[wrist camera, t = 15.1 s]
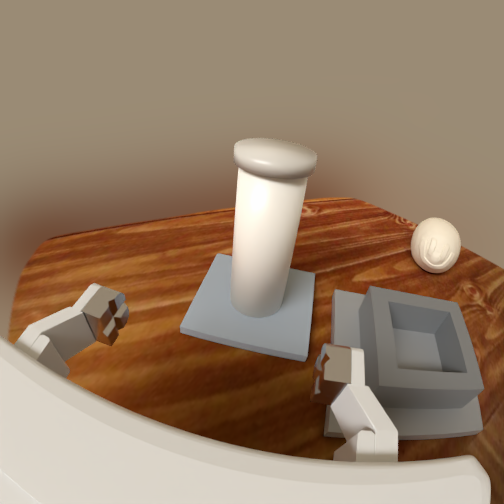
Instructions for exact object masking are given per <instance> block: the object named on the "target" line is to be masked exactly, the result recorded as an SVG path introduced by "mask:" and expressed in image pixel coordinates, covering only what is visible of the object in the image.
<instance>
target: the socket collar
mask: <svg viewBox="0 0 504 504" xmlns="http://www.w3.org/2000/svg"><path fill="white" fill-rule="evenodd" d="M331 344H334V345H341V346H347V347H352V348H358V349H363V351H364V364H365V386H369V388H370V389H371V391H372V392H373V394H374V395H375V397H376V398H377V400H378V401H379V403H380V404H381V406H382V408H383V409H384V411H385V412H386V414H387V415H388V417H389V418H390V420H391V421H392V423H393V424H394V426H395V428H396V429H397V431H398V440H422V439H439V438H451V437H460V436H469V435H476V434H477V433H479V432H480V431H482V430H483V425H482V419H481V413H480V407H479V402H478V397H477V395H478V394H479V393H480V392H482V391H483V390H484V386H483V382H482V378H481V374H480V370H479V366H478V363H477V359H476V356H475V352H474V349H473V346H472V343H471V339H470V336H469V333H468V330H467V327H466V325H465V322H464V319H463V316H462V313H461V311H460V308H459V305H458V303H457V302H451V301H446V300H441V299H435V298H430V297H425V296H420V295H415V294H409V293H404V292H399V291H394V290H389V289H384V288H379V287H373V286H370V287H369V289H368V291H367V293H366V295H362V294H357V293H352V292H347V291H342V290H336V289H335V291H334V293H333V296H332V327H331ZM324 436H328V437H338V438H345V437H344V434H343V432H342V430H341V428H340V426H339V424H338V422H337V419H336V417H335V415H334V413H333V411H332V409H331V405H327V408H326V418H325V427H324Z"/></svg>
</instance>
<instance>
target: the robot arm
mask: <svg viewBox="0 0 504 504" xmlns="http://www.w3.org/2000/svg"><path fill="white" fill-rule="evenodd" d="M125 300H126V299H125V296H124V294H123V293H120V292H117V291H115V290H112V289H109V288H106V287H104V286H101V285H98V284H95V283H94V284H92V285H90V286H89V288H88V289H87V290H86V291H85V292H84V294H83V295H82V296H81V297H80V298H79V300H78V301H77V302H76V303H75V304H74V306H73V307H68V308H66V309H63V310H61V311H59V312H57V313H55V314H52V315H50V316H48V317H46V318H44V319H42V320H39V321H37V322H35V323H33V324H31V325H29V326H28V327H27V329H26V330H25V331H24V332H23V334H22V335H21V336H20V338H19V339H18V340H17V342H16V343H15V344H14V345H13V344H12V343H11V342H9V341H8V340H6V339H5V338H4V337H2V336H1V335H0V504H490V499H491V484H490V478H489V476H488V474H487V473H486V471H485V470H484V468H483V467H482V466H481V464H480V463H479V462H478V460H477V459H476V458H475V457H474V456H472V455H464V456H457V457H450V458H442V459H433V460H422V461H408V462H398V431H397V429H396V428H395V426H394V424H393V423H392V421H391V420H390V418H389V417H388V415H387V414H386V412H385V411H384V409H383V408H382V406H381V404H380V403H379V401H378V400H377V398H376V397H375V395H374V394H373V392H372V391H371V389H370V388H369V386H365V364H364V351H363V349H358V348H352V347H347V346H341V345H334V344H328V343H325V344H324V345H323V347H322V352H321V354H320V355H318V358H317V360H316V363H315V366H314V372H313V379H314V380H315V382H314V384H313V386H312V389H311V398H310V402H314V403H319V404H325V405H331V409H332V411H333V413H334V415H335V417H336V419H337V422H338V424H339V426H340V428H341V430H342V432H343V434H344V437H345V439H346V441H347V442H346V443H345V444H344V445H342V446H341V447H340V448H338V449H337V450H336V451H334V458H333V460H321V459H312V458H303V457H296V456H289V455H282V454H276V453H271V452H265V451H260V450H255V449H250V448H246V447H241V446H237V445H233V444H229V443H225V442H221V441H217V440H213V439H210V438H206V437H203V436H200V435H196V434H193V433H190V432H187V431H184V430H181V429H178V428H175V427H172V426H169V425H166V424H163V423H161V422H158V421H155V420H153V419H150V418H147V417H145V416H142V415H140V414H138V413H135V412H133V411H130V410H128V409H126V408H124V407H121V406H119V405H117V404H115V403H112V402H110V401H108V400H106V399H104V398H102V397H100V396H98V395H96V394H94V393H92V392H90V391H88V390H86V389H84V388H82V387H80V386H79V385H77V384H75V383H73V382H71V381H70V380H68V379H66V378H67V376H68V374H69V373H70V369H69V368H68V366H67V365H66V363H65V361H66V360H68V359H69V358H71V357H72V356H74V355H76V354H77V353H79V352H80V351H82V350H83V349H85V348H86V347H88V346H90V345H91V344H93V343H94V342H96V341H99V342H102V343H104V344H107V345H109V346H112V345H113V343H114V342H115V340H116V339H117V337H118V336H119V333H118V330H120V329H122V328H124V326H125V324H126V323H127V320H128V317H129V310H128V307H127V306H126V304H125V303H124V301H125Z"/></svg>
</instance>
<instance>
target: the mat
mask: <svg viewBox="0 0 504 504" xmlns="http://www.w3.org/2000/svg"><path fill="white" fill-rule="evenodd" d="M231 272H232V256H228V255H223V254H217V255H216V257H215V259H214V261H213V263H212V265H211V267H210V269H209V271H208V273H207V275H206V276H205V278H204V280H203V282H202V284H201V286H200V288H199V290H198V292H197V294H196V296H195V298H194V300H193V302H192V304H191V305H190V307H189V309H188V311H187V313H186V315H185V317H184V319H183V321H182V323H181V325H180V331H181V333H183V334H187V335H190V336H194V337H198V338H201V339H205V340H209V341H213V342H216V343H220V344H224V345H228V346H232V347H237V348H241V349H245V350H249V351H254V352H258V353H263V354H268V355H272V356H277V357H282V358H287V359H293V360H298V361H303V362H305V361H306V358H307V356H308V347H309V338H310V328H311V318H312V307H313V295H314V282H315V273H310V272H305V271H300V270H296V269H291V268H290V269H289V274H288V278H287V283H286V287H285V291H284V296H283V300H282V304H281V307H280V309H279V310H278V311H277V312H276V313H274V314H273V315H271V316H268V317H263V318H254V317H249V316H246V315H243V314H241V313H240V312H238V311H237V310H236V309H235V308H234V307H233V305H232V303H231V301H230V290H231Z"/></svg>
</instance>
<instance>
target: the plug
mask: <svg viewBox="0 0 504 504" xmlns="http://www.w3.org/2000/svg"><path fill="white" fill-rule="evenodd" d="M316 161H317V154H316V152H315V151H313V150H312V149H310V148H308V147H306V146H303V145H301V144H297V143H294V142H290V141H285V140H279V139H270V138H251V139H245V140H241V141H239V142H237V143H236V144H235V147H234V163H235V165H236V166H237V167H239V170H238V182H237V196H236V210H235V225H234V240H233V256H232V272H231V290H230V301H231V303H232V305H233V307H234V308H235V309H236V310H237V311H238V312H240V313H241V314H243V315H246V316H249V317H254V318H263V317H268V316H271V315H273V314H274V313H276V312H277V311H278V310H279V309H280V307H281V304H282V300H283V296H284V291H285V287H286V283H287V278H288V274H289V269H290V264H291V260H292V255H293V250H294V246H295V241H296V236H297V231H298V226H299V221H300V216H301V211H302V206H303V201H304V195H305V190H306V184H307V179H308V177H309V176H311V175H312V174H313V173H314V171H315V166H316Z"/></svg>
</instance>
